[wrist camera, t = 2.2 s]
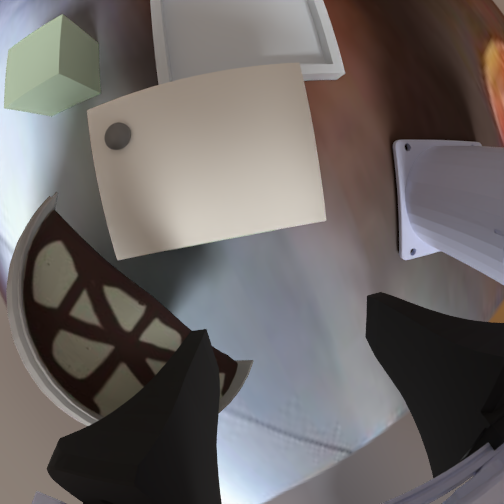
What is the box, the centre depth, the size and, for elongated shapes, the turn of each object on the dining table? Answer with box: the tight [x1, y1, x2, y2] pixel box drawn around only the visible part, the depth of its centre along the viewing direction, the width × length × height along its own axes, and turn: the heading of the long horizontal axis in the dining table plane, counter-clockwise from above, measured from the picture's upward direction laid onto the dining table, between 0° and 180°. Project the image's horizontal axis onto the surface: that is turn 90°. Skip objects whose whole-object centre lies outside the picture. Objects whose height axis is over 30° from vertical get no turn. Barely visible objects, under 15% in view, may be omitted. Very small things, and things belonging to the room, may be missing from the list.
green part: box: [4, 14, 101, 117], centre depth 10 cm, size 4×4×5 cm
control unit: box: [87, 63, 326, 261], centre depth 12 cm, size 10×8×6 cm
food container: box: [7, 192, 253, 426], centre depth 11 cm, size 12×6×10 cm
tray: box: [150, 0, 345, 85], centre depth 11 cm, size 10×10×1 cm
